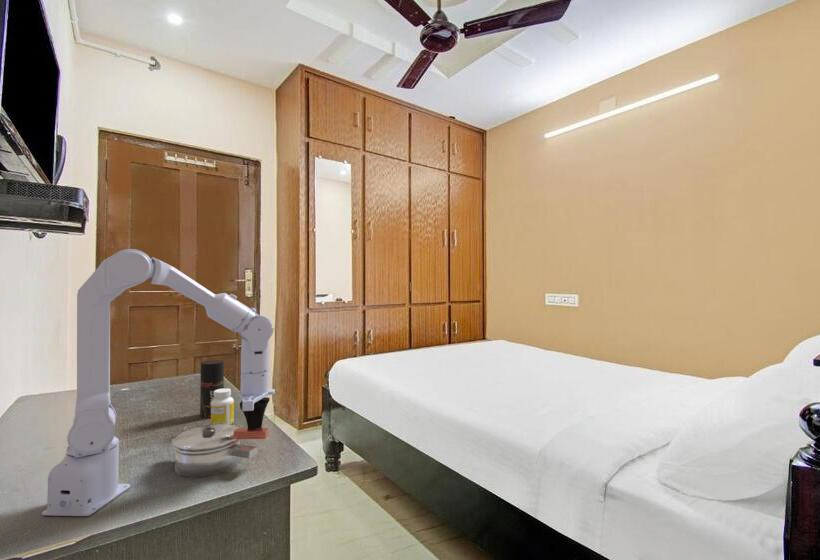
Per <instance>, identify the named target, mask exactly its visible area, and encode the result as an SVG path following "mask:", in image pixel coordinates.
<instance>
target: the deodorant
mask: <svg viewBox="0 0 820 560" xmlns="http://www.w3.org/2000/svg"><path fill="white" fill-rule="evenodd" d="M224 372H225V361H224V360H222V359H210V360H209V359H208V360H204V361H202V362H200V386H199V387H200V393H199V395H200V397H199V398H200V400H199V403H200V404H199V407H200V408H199V417H200V418H202V419H211V401H212V400H213V399H215V397H214V391H215V390H218V389H224V387H225V386H224V385H225V383H224V381H225V378H224V377H225V375H224V374H225V373H224Z"/></svg>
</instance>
